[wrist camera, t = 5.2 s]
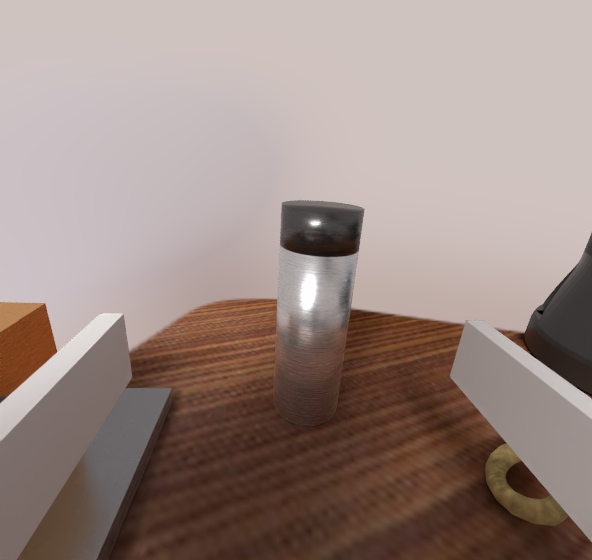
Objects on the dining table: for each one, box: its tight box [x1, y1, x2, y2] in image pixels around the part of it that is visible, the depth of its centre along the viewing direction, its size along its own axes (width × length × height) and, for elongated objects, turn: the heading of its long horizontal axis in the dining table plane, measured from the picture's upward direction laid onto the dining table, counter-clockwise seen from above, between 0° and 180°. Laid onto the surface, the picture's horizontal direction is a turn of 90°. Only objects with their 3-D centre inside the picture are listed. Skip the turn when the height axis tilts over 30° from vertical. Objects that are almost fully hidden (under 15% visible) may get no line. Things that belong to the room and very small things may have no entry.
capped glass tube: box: [273, 201, 364, 427], centre depth 17 cm, size 4×4×12 cm
